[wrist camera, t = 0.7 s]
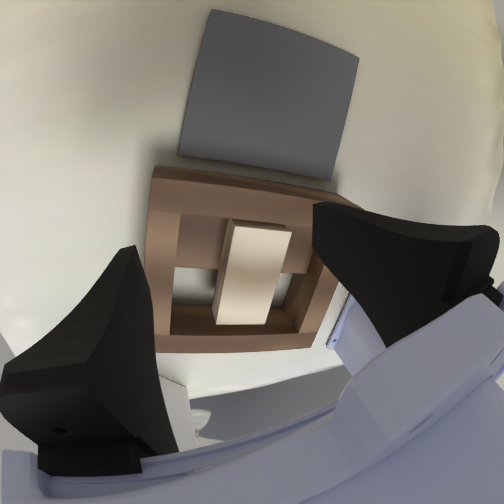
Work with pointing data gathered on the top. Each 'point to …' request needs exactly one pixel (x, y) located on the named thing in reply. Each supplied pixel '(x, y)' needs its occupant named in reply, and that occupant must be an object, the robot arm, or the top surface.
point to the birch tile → (249, 271)
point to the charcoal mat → (267, 97)
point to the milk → (179, 414)
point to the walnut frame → (209, 255)
